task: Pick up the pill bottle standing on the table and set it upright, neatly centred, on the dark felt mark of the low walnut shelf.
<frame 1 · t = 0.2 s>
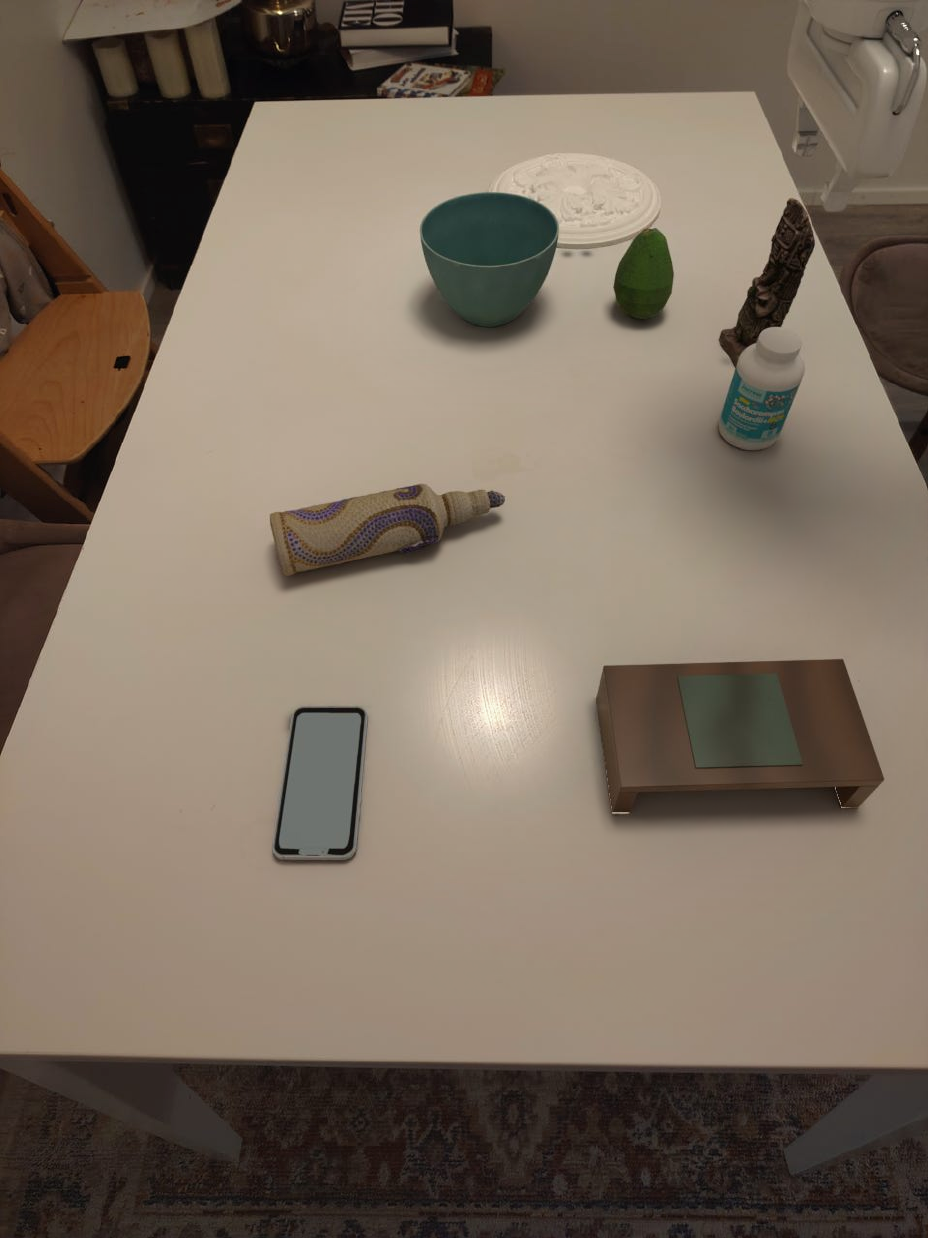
hand: (816, 178, 72), 33 cm above the table, tool pointing down, fingers open, 8 cm apart
statue: (750, 351, 111), on the table
avocado: (637, 314, 117), on the table
shelf: (721, 750, 77), on the table
decorative bottle: (387, 548, 92), on the table
ceiling medallion: (573, 202, 135), on the table
plant pot: (488, 310, 118), on the table
smartphone: (323, 781, 76), on the table
pill bottle: (747, 433, 102), on the table
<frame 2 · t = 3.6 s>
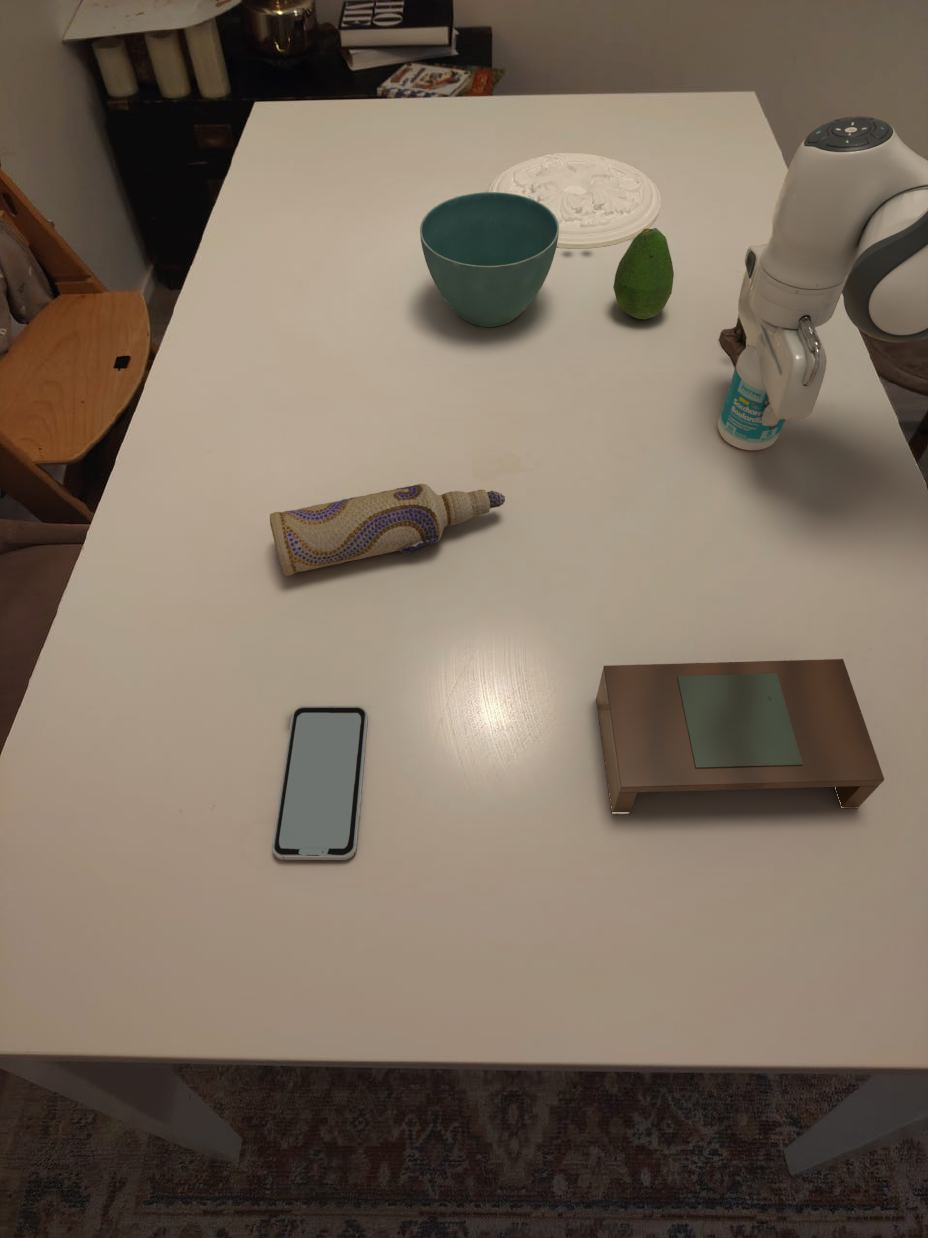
hand: (758, 396, 97), 6 cm above the table, tool pointing down, fingers closed on pill bottle, 7 cm apart
pill bottle: (746, 433, 102), on the table, touching gripper
everything else where it was.
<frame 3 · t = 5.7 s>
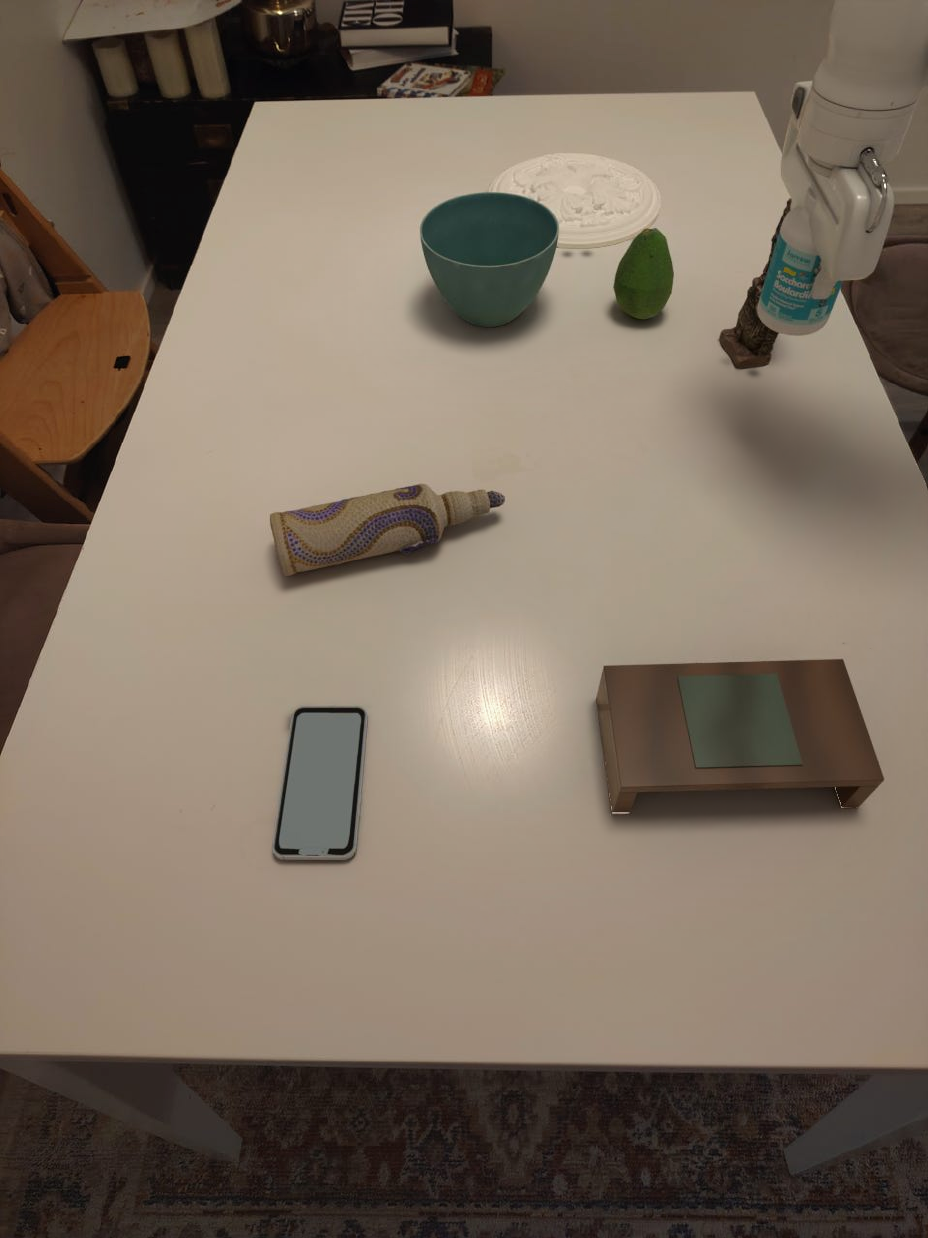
hand: (806, 269, 84), 22 cm above the table, tool pointing down, fingers closed on pill bottle, 7 cm apart
pill bottle: (790, 319, 89), point 16 cm above the table, touching gripper
everything else where it was.
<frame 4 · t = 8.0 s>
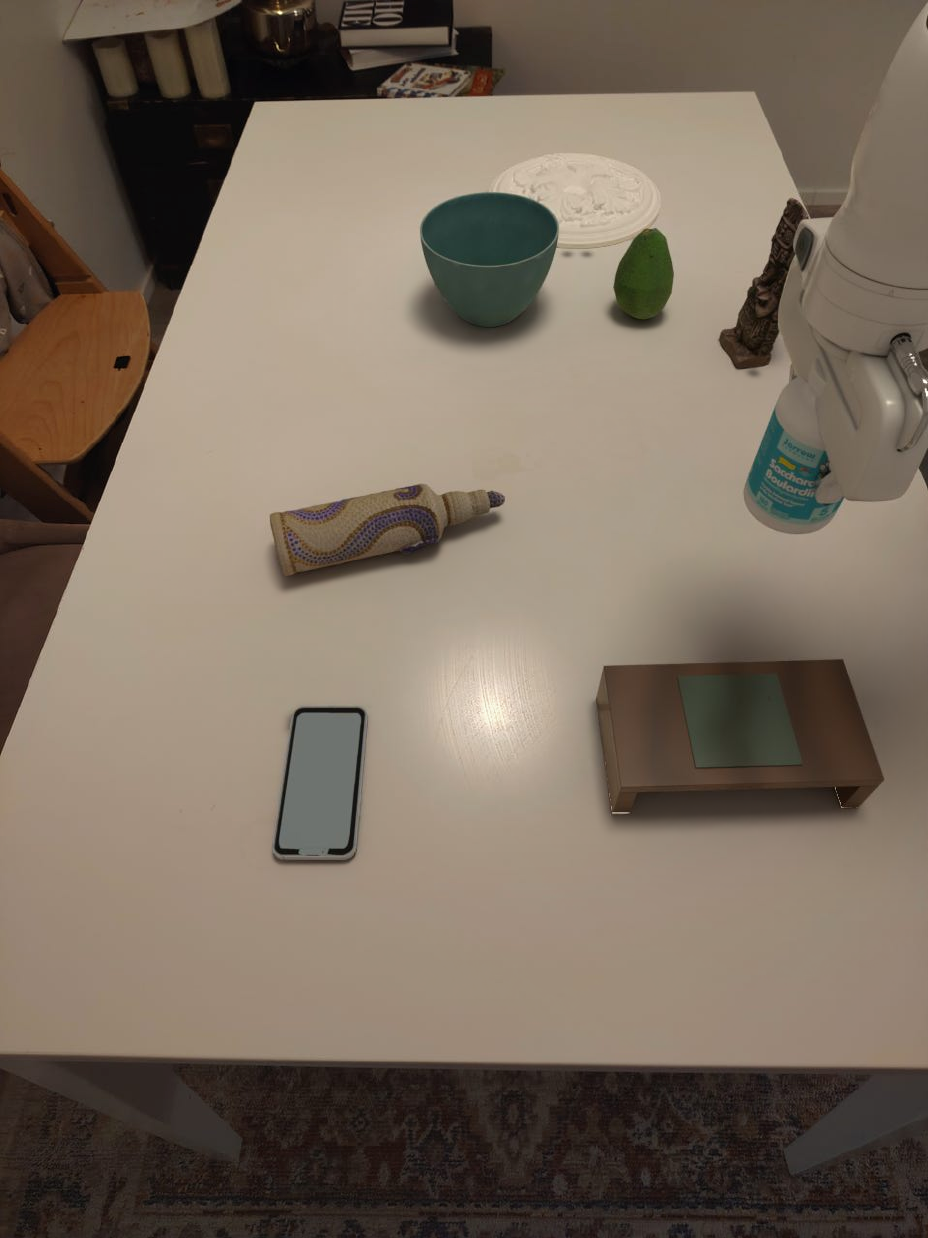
hand: (808, 454, 63), 26 cm above the table, tool pointing down, fingers closed on pill bottle, 7 cm apart
pill bottle: (786, 506, 68), point 20 cm above the table, touching gripper
everything else where it was.
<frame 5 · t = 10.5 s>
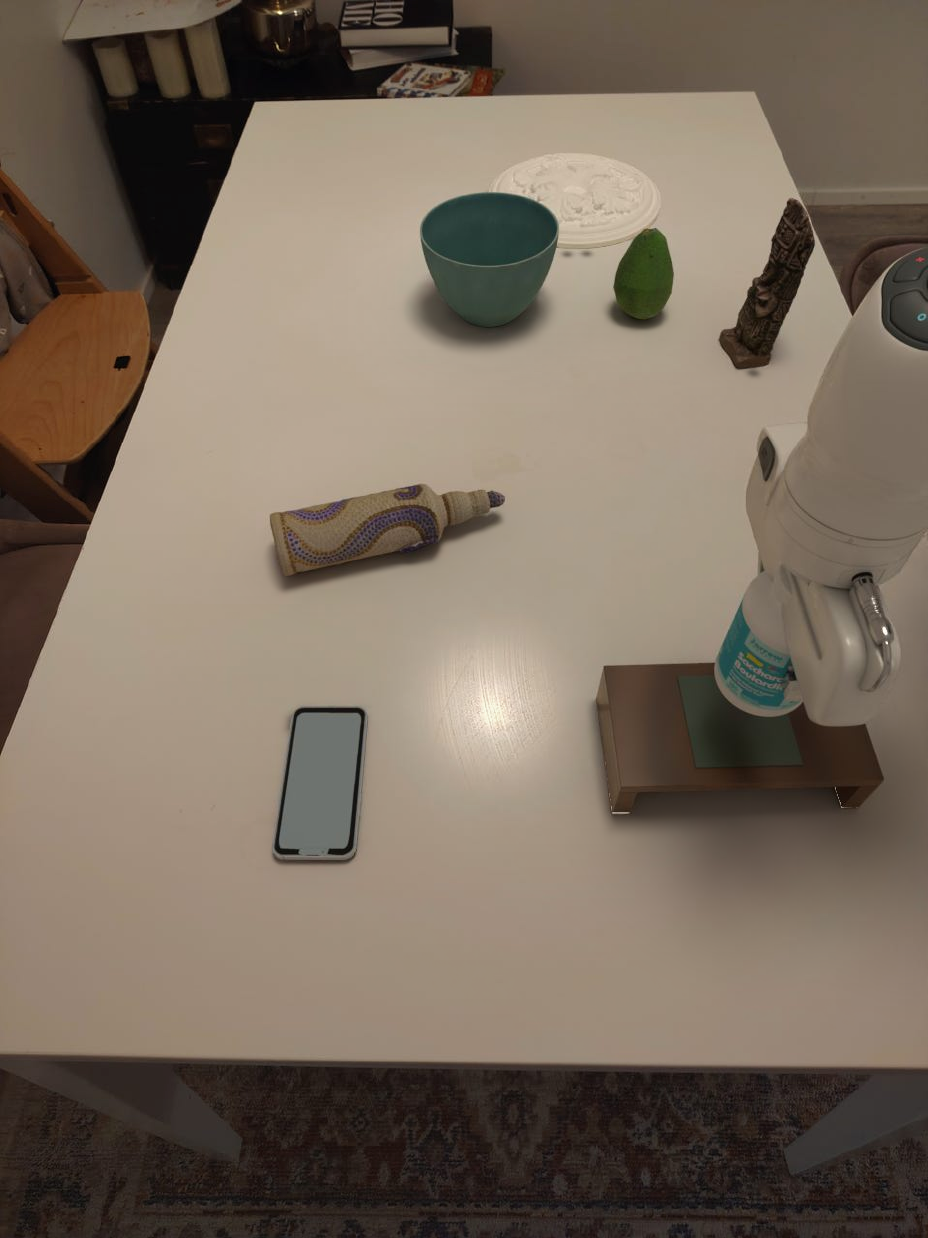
hand: (778, 642, 62), 18 cm above the table, tool pointing down, fingers closed on pill bottle, 7 cm apart
pill bottle: (758, 682, 67), point 12 cm above the table, touching gripper
everything else where it was.
when the fingers open (12 cm above the table, at t = 12.7 s): pill bottle stays where it is, resting on shelf.
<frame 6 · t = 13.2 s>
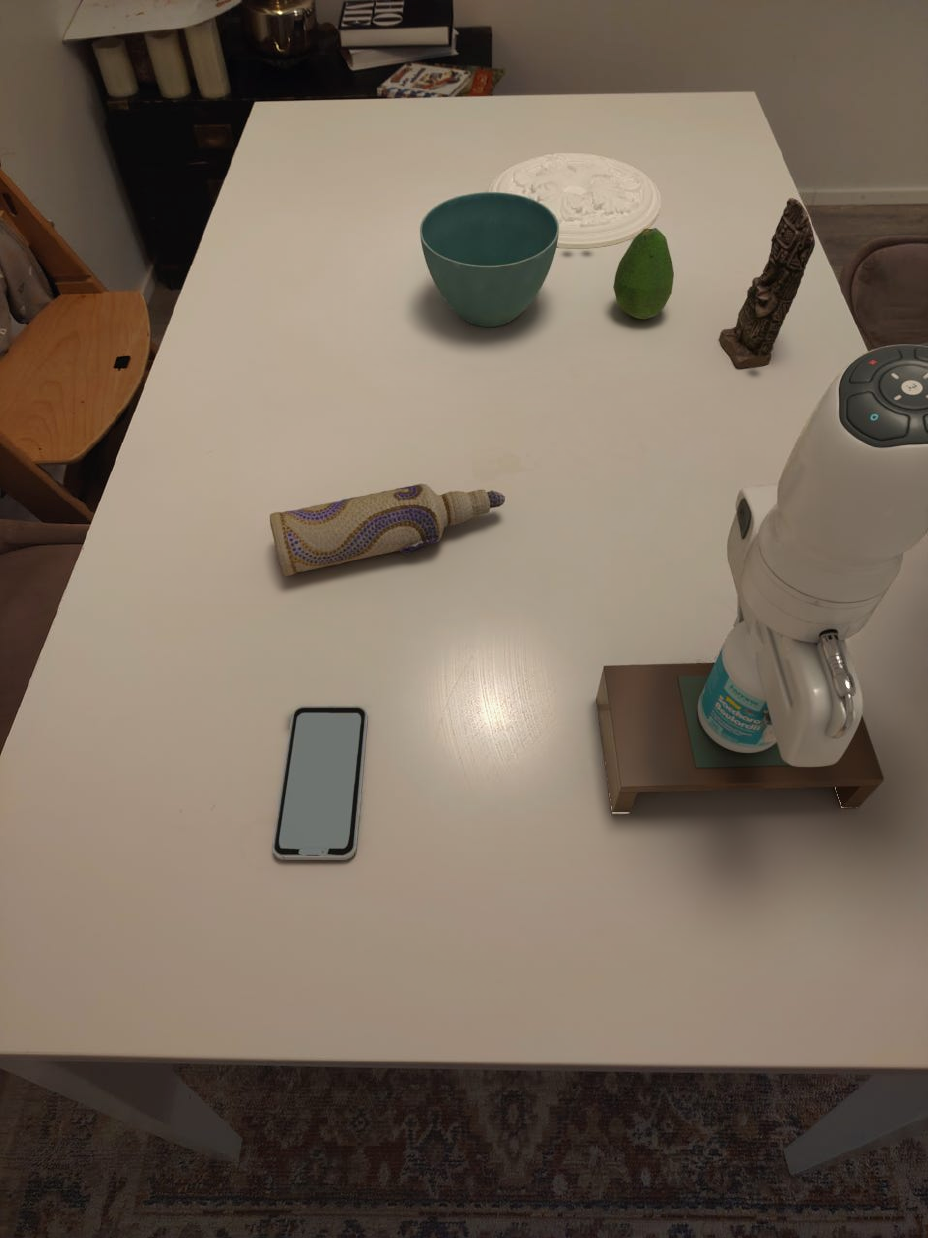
hand: (757, 682, 67), 12 cm above the table, tool pointing down, fingers open, 8 cm apart
pill bottle: (738, 719, 72), point 6 cm above the table, touching shelf
everything else where it was.
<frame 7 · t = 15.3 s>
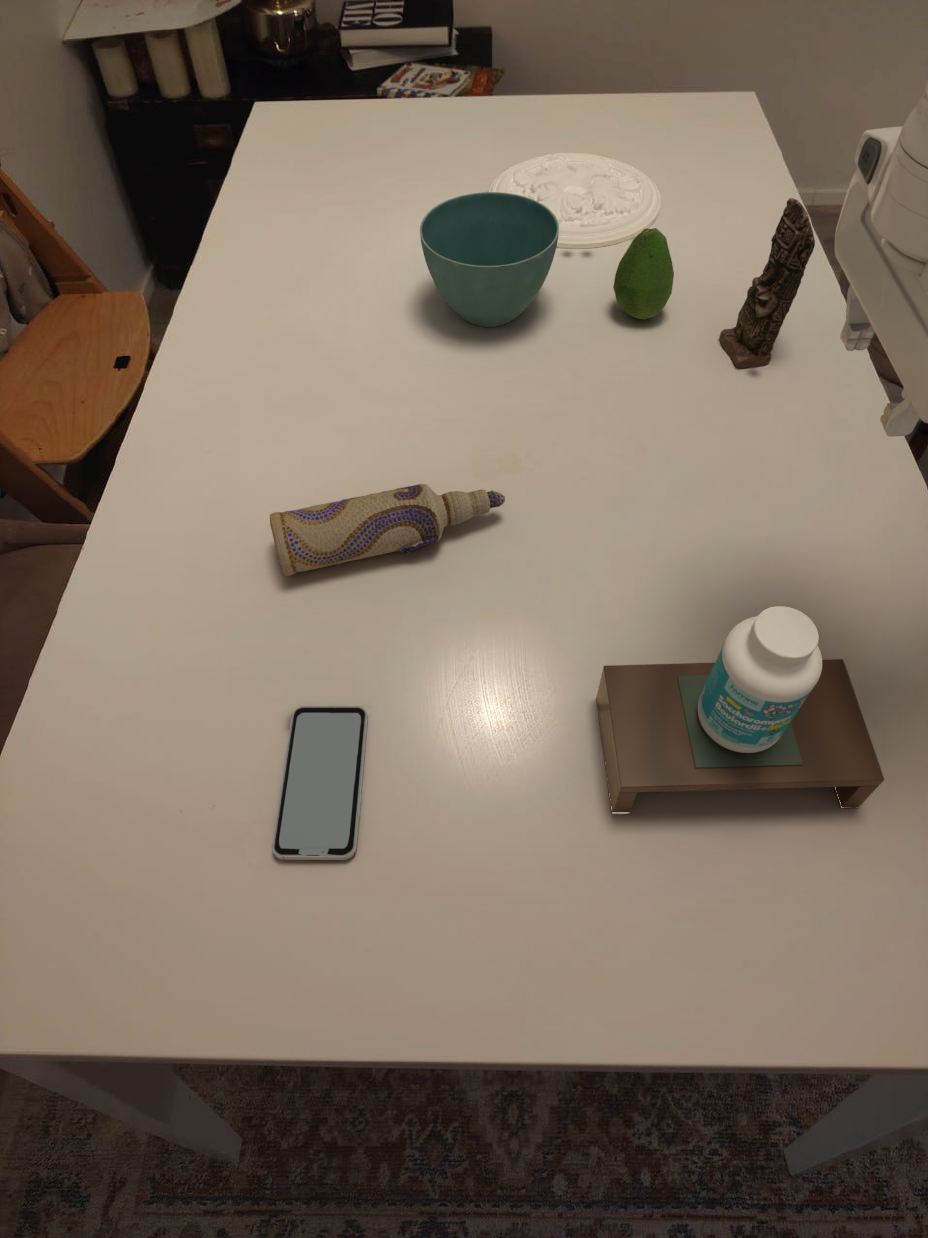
hand: (872, 385, 60), 31 cm above the table, tool pointing down, fingers open, 8 cm apart
nothing on the table moved.
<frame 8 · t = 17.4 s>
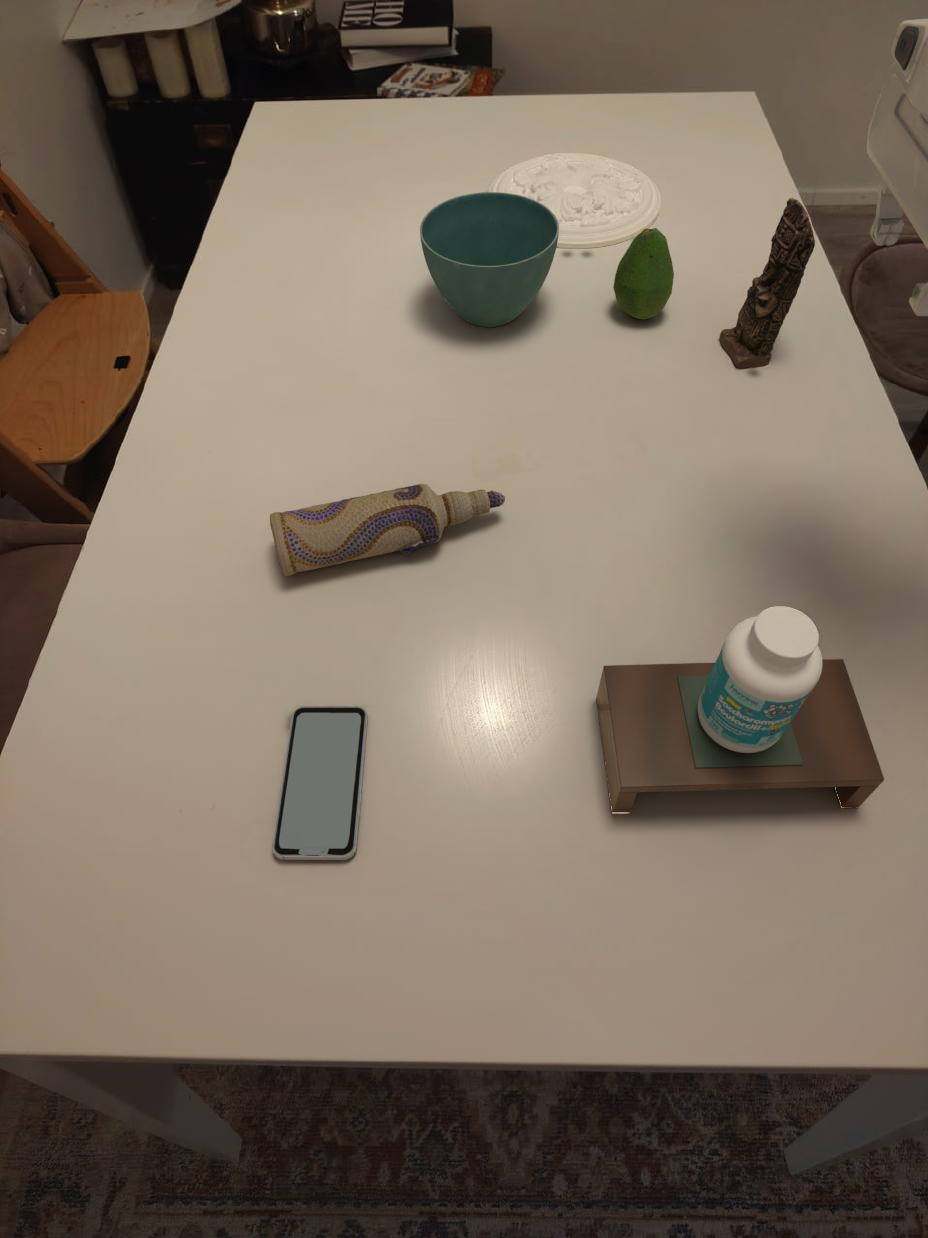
hand: (900, 274, 64), 33 cm above the table, tool pointing down, fingers open, 8 cm apart
nothing on the table moved.
at the end: pill bottle 0.1 cm off-centre on the shelf, point 6.0 cm above the shelf's base; pill bottle tilted 0°; the gripper is holding nothing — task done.
